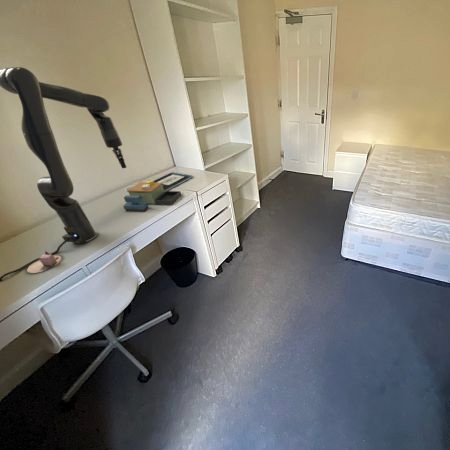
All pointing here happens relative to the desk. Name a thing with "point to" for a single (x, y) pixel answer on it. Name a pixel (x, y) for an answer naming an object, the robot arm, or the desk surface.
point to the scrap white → (146, 187)
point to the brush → (135, 204)
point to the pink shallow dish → (44, 263)
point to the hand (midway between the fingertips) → (123, 166)
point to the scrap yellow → (149, 182)
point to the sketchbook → (172, 180)
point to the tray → (168, 198)
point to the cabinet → (147, 192)
